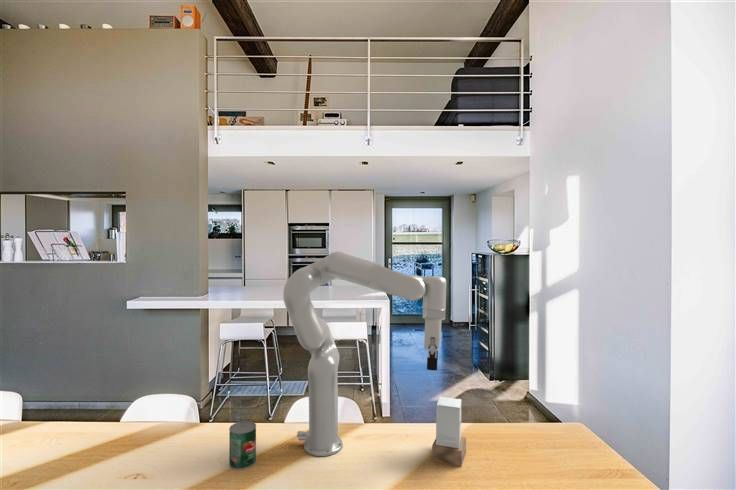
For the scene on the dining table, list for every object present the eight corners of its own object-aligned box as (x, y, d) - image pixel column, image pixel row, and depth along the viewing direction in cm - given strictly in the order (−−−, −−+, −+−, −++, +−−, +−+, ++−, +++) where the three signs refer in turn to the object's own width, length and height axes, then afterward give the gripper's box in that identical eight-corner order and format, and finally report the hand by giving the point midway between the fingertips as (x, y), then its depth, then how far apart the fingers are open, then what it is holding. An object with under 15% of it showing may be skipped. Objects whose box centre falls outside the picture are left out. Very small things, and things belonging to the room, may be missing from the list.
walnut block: (432, 461, 123) (432, 445, 123) (438, 447, 131) (438, 432, 131) (461, 467, 119) (461, 451, 119) (466, 453, 127) (466, 437, 127)
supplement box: (459, 449, 120) (460, 407, 120) (435, 445, 122) (435, 404, 122) (461, 437, 127) (461, 398, 127) (438, 434, 129) (438, 395, 129)
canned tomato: (254, 468, 118) (254, 431, 118) (227, 470, 117) (227, 433, 117) (257, 454, 126) (257, 420, 126) (231, 456, 125) (231, 421, 125)
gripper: (423, 309, 140) (422, 357, 140) (421, 317, 123) (419, 372, 123) (445, 310, 138) (443, 358, 138) (445, 319, 121) (443, 374, 121)
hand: (432, 365), depth 131 cm, fingers open, 9 cm apart
